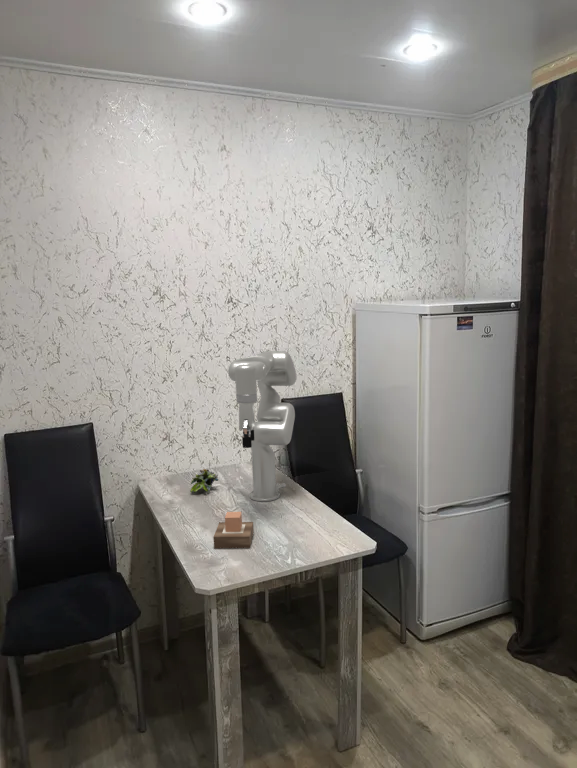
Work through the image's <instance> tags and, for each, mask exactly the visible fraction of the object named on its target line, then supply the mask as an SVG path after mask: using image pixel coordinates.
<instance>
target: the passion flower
mask: <svg viewBox="0 0 577 768" xmlns="http://www.w3.org/2000/svg"><path fill="white" fill-rule="evenodd" d="M199 472H200V473H198V474H195V477H192V480H191V481H190V485H192V486H191V488H190V493H191V494H193V493H196V492H198V491H199V490H201V489H202V488H203V490H204V491H205V492H207V494H210V489H211V488H212V485H213V484H214V482H218V481H219V479H218V478H219V477H218V476H219V475H218V474H216V473H215V472H213V471H209V469H205V468H203V469H201V470H199Z"/></svg>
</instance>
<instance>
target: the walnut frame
mask: <svg viewBox="0 0 577 768" xmlns="http://www.w3.org/2000/svg"><path fill="white" fill-rule="evenodd" d="M253 533H255V531H254V522H253V521H242V528H241V531H240V532H226V530H225V521H221V522H219V523H218V525H217V528H216V530H215V532H214V534H213V537H212V538H213V549H250V548H251V547H252V546H251V545H252V541H253V538H254V534H253Z"/></svg>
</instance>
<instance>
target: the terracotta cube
mask: <svg viewBox="0 0 577 768" xmlns="http://www.w3.org/2000/svg"><path fill="white" fill-rule="evenodd" d="M242 515H243V514H242V511H227V512H226V514H225V517H224V522H225V530H226V532H240V531H241V528H242V522H243V516H242Z"/></svg>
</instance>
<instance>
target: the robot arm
mask: <svg viewBox="0 0 577 768" xmlns="http://www.w3.org/2000/svg"><path fill="white" fill-rule="evenodd" d="M295 367H296V366H295V365H294V361H293V359H292V356H291V354H290V353H289V352H287V351H285V350H280V351H279V350H278V351H277V350H276V351H275V350H268V351H262V352H260V353H259V354H257V355H252V356H248V357H243V358H238V359H234V360H233V361H231V362H230V364H229V366H228V369H227V374H228V377H229V379H230V380H231V381H233V382H235V394H236V395H235V398H236V404H238V430H239V431H242V448H244V449H250V450H251V466H252V469H251V470H252V471H251V472H252V487H253V488H252V491H250V493H249V498H250V499H251V500H252V501H255V502H272V501H275V500H277V499H279V498H280V497H281V492H280V490H281V489H284V488H286V487H287V486H286V483H285V482H283V483H280V482H277V475H276V471H277V470H276V455H275V451H274V449H272V447H271V446H287V445H288V444H290V442H291V440H292V436H293V431H294V423H295V418H296V411H295V407H294V405H293V404H291V403H290V402H281V396H280V394H279V393H278V391H277V390H276V389H275V388H274V387H290V386H293V385H295V383H296V382H297V371H296V368H295ZM257 387H258V389H257ZM257 390H258V391H257ZM258 392H259V394H260V399H259V404H258V408H257V412H256V419H255V404H256V403H258ZM255 420H256V421H255Z"/></svg>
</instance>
